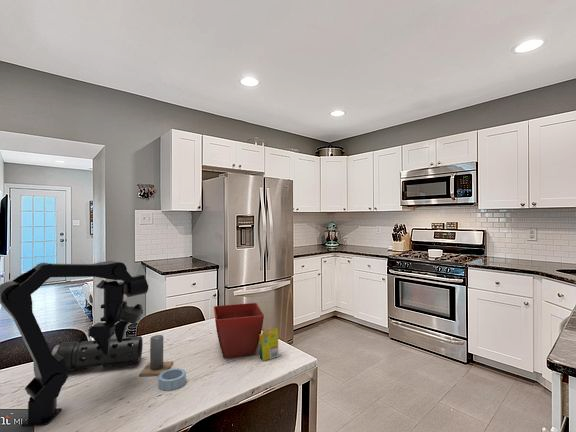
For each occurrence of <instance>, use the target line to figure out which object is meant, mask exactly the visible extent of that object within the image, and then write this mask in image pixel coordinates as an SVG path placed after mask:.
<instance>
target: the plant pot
mask: <svg viewBox="0 0 576 432" xmlns="http://www.w3.org/2000/svg"><path fill="white" fill-rule="evenodd" d="M213 312H214V319H215V320H214V321H215V322H214V323H215V327H216V329H215V330H216V333H217V339H218V343H219V347H220V351H221V354H222V357H223V358H224V359H228V358H235V357H236V358H237V357H242V356H243V357H244V356H252V355H255V354H256V353H257V351H258V350H257V349H258V347H259V334H262V330H263V325H264V318H265V314H264V313H263V311H262V310H261V308H260V307H259V305H258V303H257V302H248V303H237V304H236V303H235V304H226V305H225V304H224V305H223V304H222V305H214V306H213Z"/></svg>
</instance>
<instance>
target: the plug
mask: <svg viewBox="0 0 576 432" xmlns="http://www.w3.org/2000/svg"><path fill="white" fill-rule="evenodd" d="M149 340H150V341H149V342H150V344H149V346H150V347H149V348H150V349H149V350H150V352H149V354H150V355H149V362H150V370H153V371H155V370H160V369H162V368H163V362H164V335H161V334H157V335H152V336H150V339H149Z"/></svg>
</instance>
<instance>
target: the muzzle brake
mask: <svg viewBox="0 0 576 432" xmlns="http://www.w3.org/2000/svg"><path fill="white" fill-rule="evenodd" d="M51 353H52V355H55V354H56V353H57V354H58V355H60V356H61V357H62V358H64V360H65V365H66V367H67V368H68V369H69V371H72V370H73V371H74V372H79V371H78V370H80V371H85V370H86V369H87V368H95V367H96V368H97V367H102V368H105V367H117V366H127V365H128V366H129V365H135V364H136V365H137V364H139V363H140V362H141V359H142V355H143V337H142V335H138V336H129V337H128V336H127V337H123V340H122V342H121V343H118V341H117V338H111V339H110V346H109V352H108V354H104V353H103V352H102V350H101V349H100V347H99V345H98V344H97V342H96V341H95V340H84V341H81V342H79V341H74V340H73V341H65V342H62V343H61V344H56V345H55V346H54V347H53V349H52V351H51Z"/></svg>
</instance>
